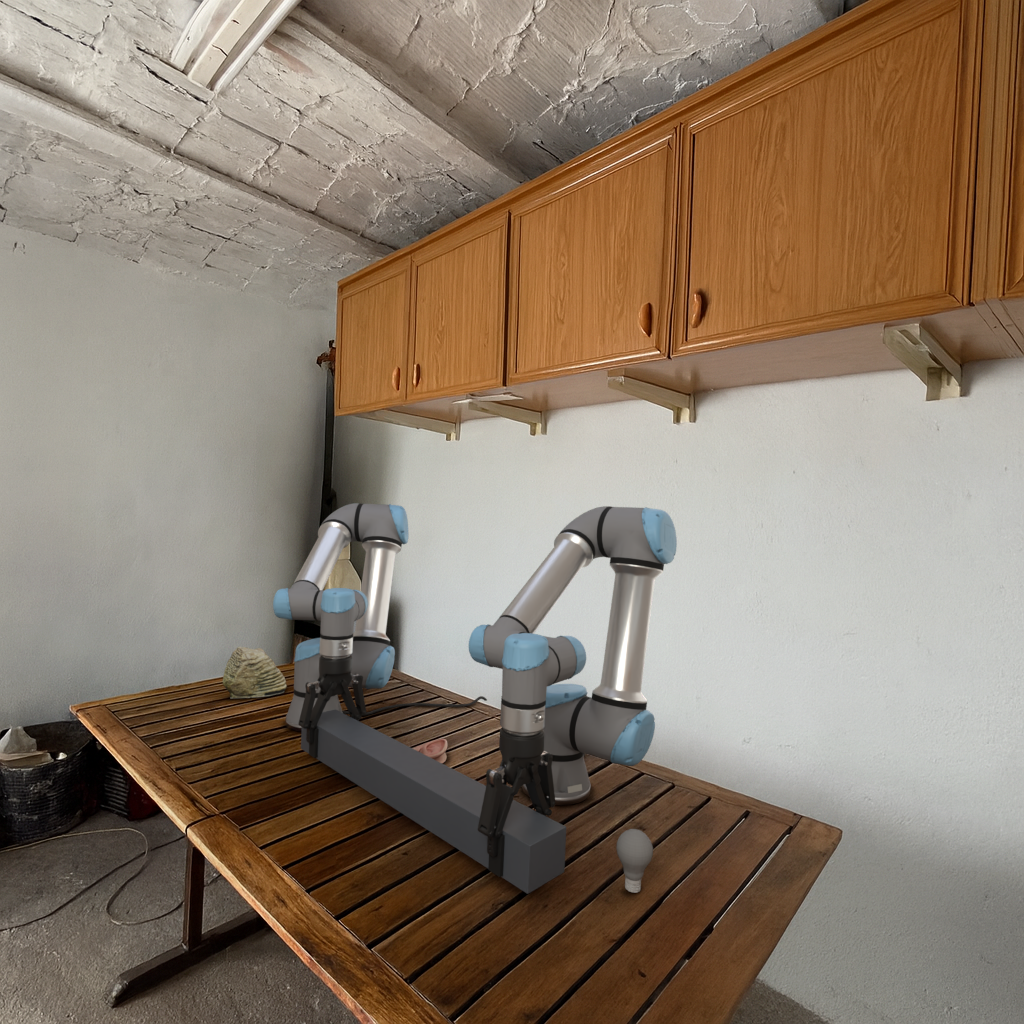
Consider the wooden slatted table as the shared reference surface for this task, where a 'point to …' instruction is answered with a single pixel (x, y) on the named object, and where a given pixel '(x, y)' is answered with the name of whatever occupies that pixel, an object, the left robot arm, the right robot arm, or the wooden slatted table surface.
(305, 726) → the left robot arm
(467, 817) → the long dark gray bar
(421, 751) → the anatomical model
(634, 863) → the light bulb
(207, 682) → the wooden slatted table surface
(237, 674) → the fossil
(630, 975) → the wooden slatted table surface
